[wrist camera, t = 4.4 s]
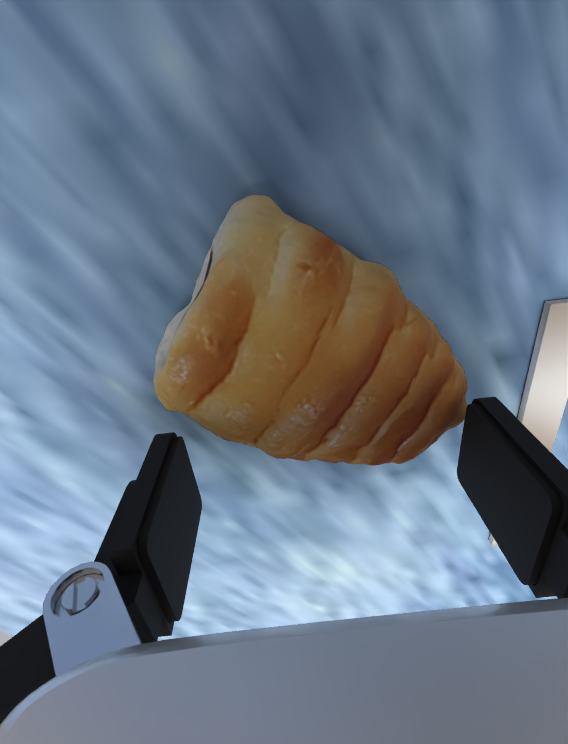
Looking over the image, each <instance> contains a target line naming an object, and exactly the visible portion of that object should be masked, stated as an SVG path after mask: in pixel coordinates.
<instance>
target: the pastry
mask: <svg viewBox="0 0 568 744" xmlns="http://www.w3.org/2000/svg"><path fill="white" fill-rule="evenodd" d="M153 384H154V387H155V392H156V396H157V397H158V399H159V401H160V402H161V403H162V404H163V405H164V407H165V408H166V409H167V410H170V411H179V412H181V413H183V414H185V415H187V416H189V417H190V418H192V419H193V420H195V421H196V422H198V423H199V424H200V425H201V426H203V427H204V428H205V429H208V430H210V431H211V432H213V433H214V434H215V435H217V436H220V437H221V438H223V439H225V440H228V441H233V442H239V443H243V444H246V445H251V446H254V447H257V448H260V449H261V450H263V451H264V452H265V453H267V454H268V455H270V456H273V457H275V458H283V459H284V458H291V459H297V460H302V461H309V460H313V459H317V460H321V461H326V462H332V463H337V462H345V463H349V464H368V465H380V464H384V463H397V464H401V463H404V462H406V461H409V460H411V459H413V458H415V457H416V456H418V455H419V454H421V453H422V452H423V451H424V450H426V449H427V448H428V447H429V446H430V445H431V444H433V443H434V442H436V441H437V439H438V438H439V437H440V436H441V435H442V434H443V433H444V432H445V431H447V430H448V429H451V428H453V427H455V426H457V425H459V424H460V423H461V422H462V421H463V420H464V419H465V414H466V408H467V403H466V398H465V394H466V392H467V381H466V377H465V373H464V370H463V368H462V366H461V364H460V363H459V362H458V361H457V360H456V358H455V357H454V355H453V354H452V352H451V348H450V346H449V344H448V342H447V341H446V340H445V339H444V338H443V337H442V336H441V335H440V334H439V331H438V329H437V327H436V325H435V324H434V323H433V322H432V321H431V320H430V319H429V318H428V317H427V316H426V315H425V314H424V313H423V312H422V311H421V310H420V309H419V308H418V307H417V306H415V305H414V304H412V303H411V302H410V301H408V300H407V298H406V297H405V295H404V294H403V292H402V291H401V288H400V286H399V284H398V281H397V279H396V278H395V276H394V274H393V272H392V271H391V270H390V269H388V268H387V267H385V266H383V265H380V264H378V263H376V262H370V261H363V260H361V259H359V258H358V257H357V256H355V255H354V254H352V253H351V252H350V251H348V250H347V249H345V248H344V247H342V246H340V245H338V244H336V242H335V241H333V240H332V239H331V238H330V237H328V236H327V235H325V234H323V233H322V232H320V231H318V230H316V229H315V228H313V227H312V226H310V225H307V224H304V223H301V222H300V221H298V220H296V219H294V218H293V217H291V216H289V215H287V214H285V213H284V212H283V211H282V210H281V209H280V208H279V207H278V205H277V204H276V203H275V202H274V201H273V200H272V199H271V198H269V197H268V196H264V195H249V196H247V197H246V198H244V199H241V200H239V201H237V202H235V203H234V204H233V205H232V206H231V208H230V209H229V211H228V212H227V214H226V217H225V219H224V220H223V222H222V223H221V225H220V226H219V229H218V231H217V233H216V235H215V237H214V239H213V241H212V246H211V247H210V249H209V251H208V253H207V256H206V258H205V260H204V263H203V266H202V270H201V273H200V275H199V277H198V279H197V281H196V286H195V289H194V292H193V296H192V299H191V302H190V303H189V304H188V305H187V306H186V307H185V308H184V309H183V310H182V311H179V312H178V313H177V314H176V315H175V317H174V318H173V319H172V320H171V321H170V323H169V324H168V325H167V327H166V330H165V333H164V336H163V339H162V340H161V342H160V343H159V346H158V350H157V353H156V357H155V371H154V376H153Z"/></svg>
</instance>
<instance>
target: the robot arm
mask: <svg viewBox="0 0 568 744" xmlns="http://www.w3.org/2000/svg"><path fill="white" fill-rule="evenodd" d="M457 476H458V479H459V482H460V484H461V485H462V487H463V489H464V490H465V492H466V493H467V495H468V497H469V498H470V500H471V502H472V503H473V505H474V507H475V508H476V510H477V511H478V513H479V515H480V516H481V518H482V520H483V521H484V523H485V525H486V526H487V528H488V530H489V531H490V533H491V534H492V536H493V538H494V539H495V541H496V543H497V544H498V546H499V548H500V549H501V551H502V553H503V554H504V556H505V557H506V559H507V561H508V562H509V564H510V566H511V567H512V569H513V571H514V572H515V574H516V575H517V577H518V579H519V580H520V582H522V583H523V584H524V585H529V587H530V589H531V590H532V592H533V594H534V595H535V597H536V598H540V597H550V596H557V597H558V599H548V600H535V601H525V602H514V603H504V604H494V605H483V606H473V607H463V608H452V609H442V610H432V611H422V612H412V613H403V614H393V615H383V616H373V617H364V618H354V619H344V620H335V621H325V622H315V623H306V624H297V625H288V626H279V627H269V628H260V629H251V630H242V631H232V632H223V633H216V634H208V635H200V636H192V637H184V638H176V639H168V640H162V641H157V639H158V637H161V636H171V635H172V630H173V625H174V621H179V620H180V618H181V615H182V610H183V605H184V600H185V595H186V589H187V584H188V579H189V574H190V568H191V563H192V558H193V552H194V547H195V542H196V537H197V531H198V526H199V521H200V515H201V510H202V501H201V496H200V493H199V490H198V486H197V483H196V480H195V476H194V473H193V470H192V466H191V463H190V460H189V456H188V453H187V450H186V446H185V443H184V440H183V438H182V437H181V436H180V437H177V435H176V433H165V434H156V435H155V436H154V438H153V441H152V443H151V445H150V448H149V450H148V453H147V455H146V457H145V460H144V462H143V465H142V467H141V469H140V472H139V474H138V477H137V479H136V480H133V481H131V482H129V484H128V485H127V487H126V489H125V492H124V494H123V496H122V499H121V501H120V503H119V505H118V508H117V510H116V512H115V515H114V517H113V519H112V522H111V524H110V526H109V528H108V531H107V533H106V535H105V538H104V540H103V542H102V544H101V547H100V549H99V551H98V554H97V556H96V558H95V560H94V562H88V563H83V564H80V565H78V566H76V567H74V568H72V569H70V570H69V571H68V572H66V573H65V574H63V575H62V576H61V577H60V578H59V579H58V580H57V581H56V582H55V583H54V584H53V585H52V587H51V588H50V590H49V591H48V593H47V595H46V597H45V600H44V603H43V615H41V616H40V617H39V618H37V619H36V620H35V621H33V622H32V623H31V624H29V625H28V626H27V627H25V628H24V629H23V630H21V631H20V632H19V633H18V634H16V635H15V636H14V637H12V638H11V639H10V640H8V641H7V642H6V643H4V644H3V645H2V646H0V744H568V469H567V468H566V467H565V466H564V465H563V464H562V463H561V462H560V461H559V460H558V459H557V458H556V457H555V456H554V455H553V454H552V453H551V452H550V451H549V450H548V449H547V448H546V447H545V446H544V445H543V444H542V443H541V442H540V441H539V440H538V439H537V438H536V437H535V436H534V435H533V434H532V433H531V432H530V431H529V430H528V429H527V428H526V427H525V426H524V425H523V424H522V423H521V422H520V421H519V420H518V419H517V418H516V417H515V416H514V415H513V414H512V413H511V412H510V411H509V410H508V409H507V408H506V407H505V406H504V405H503V404H502V403H501V402H500V401H499V400H498V399H497V398H496V397H487V398H478V399H474V400H473V401H472V404H469V405H468V406H467V408H466V414H465V421H464V427H463V434H462V440H461V447H460V454H459V460H458V467H457Z"/></svg>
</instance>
